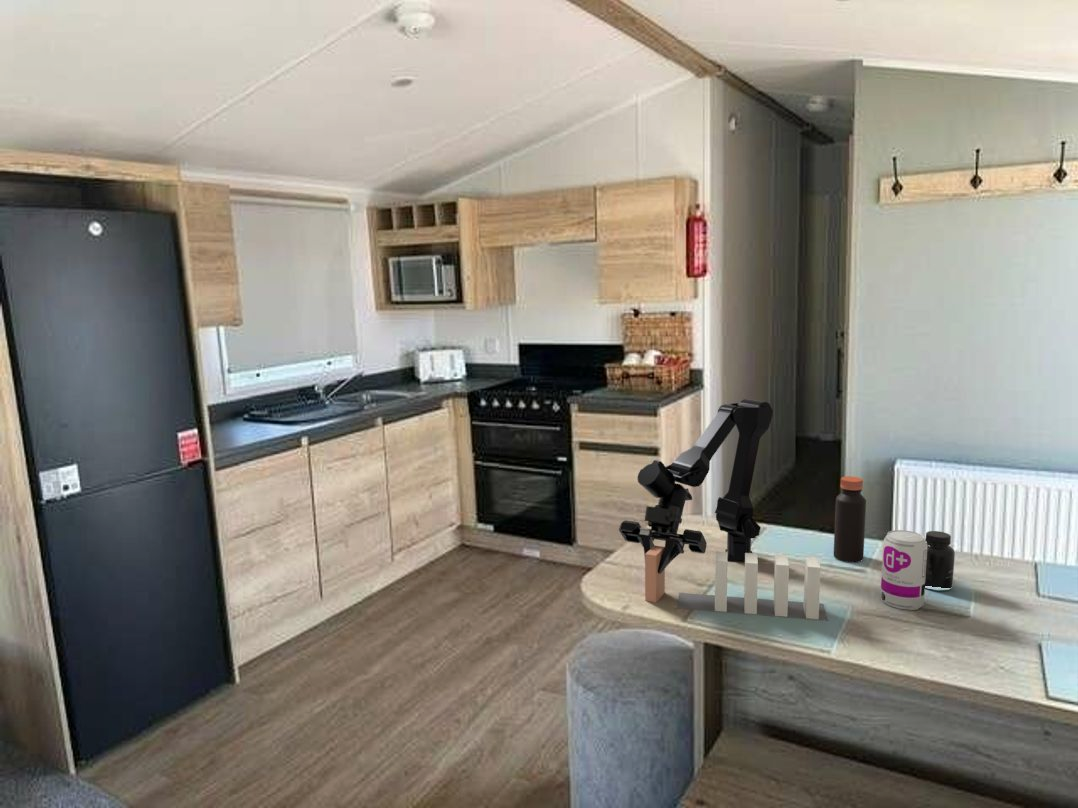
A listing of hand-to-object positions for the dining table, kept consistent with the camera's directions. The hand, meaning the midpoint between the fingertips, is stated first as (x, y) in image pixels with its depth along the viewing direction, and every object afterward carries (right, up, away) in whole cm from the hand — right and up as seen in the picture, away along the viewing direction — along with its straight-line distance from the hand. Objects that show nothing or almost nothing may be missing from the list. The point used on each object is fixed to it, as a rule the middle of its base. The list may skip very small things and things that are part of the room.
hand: (652, 571), depth 161 cm
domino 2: (+20, -6, -5) cm, 21 cm away
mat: (+20, -7, -4) cm, 21 cm away
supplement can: (+52, -6, -4) cm, 53 cm away
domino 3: (+26, -7, -6) cm, 27 cm away
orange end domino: (+1, -6, +2) cm, 7 cm away
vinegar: (+51, -2, +22) cm, 56 cm away
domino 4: (+31, -7, -8) cm, 33 cm away
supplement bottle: (+63, -4, +5) cm, 64 cm away
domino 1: (+14, -6, -3) cm, 16 cm away
